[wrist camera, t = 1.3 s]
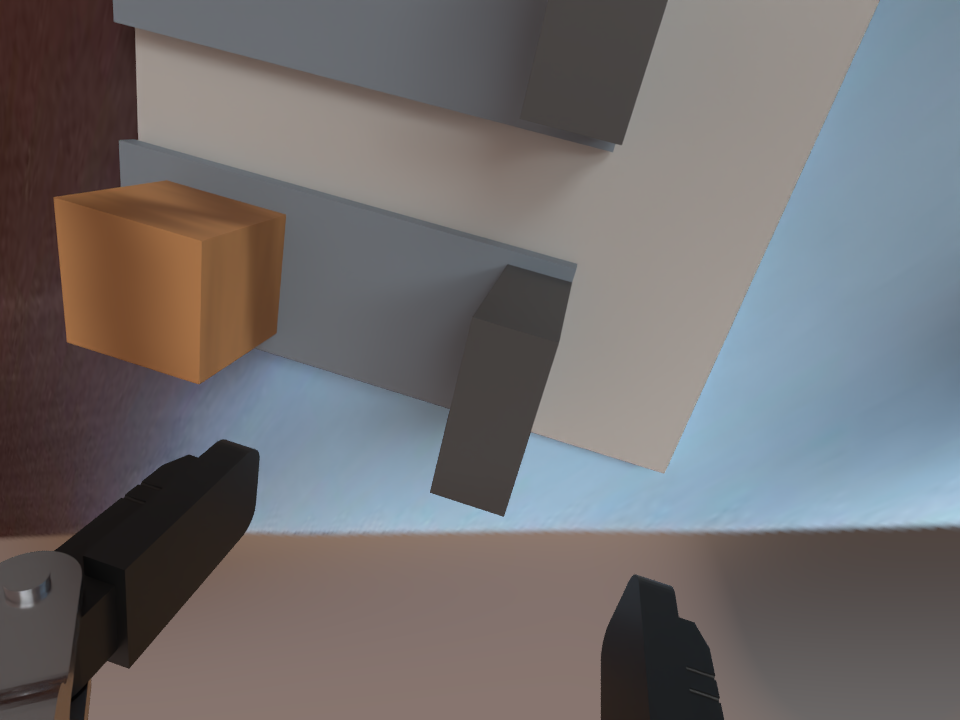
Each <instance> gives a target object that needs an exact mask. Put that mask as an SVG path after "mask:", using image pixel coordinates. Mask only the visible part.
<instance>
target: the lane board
mask: <svg viewBox="0 0 960 720" xmlns="http://www.w3.org/2000/svg"><path fill="white" fill-rule="evenodd" d="M879 1H880V0H668V2H667V5H666V8H665V11H664V15H663V18H662V21H661V24H660V27H659V30H658V33H657V37H656V40H655V43H654V46H653V49H652V52H651V55H650V59H649V62H648V65H647V68H646V71H645V74H644V77H643V81H642V84H641V87H640V90H639V93H638V96H637V99H636V103H635V106H634V109H633V112H632V115H631V118H630V121H629V125H628V128H627V131H626V134H625V137H624V140H623V144H622V145H618V144H615V147H614V150H613V152H610V151H606V150H602V149H598V148H594V147H591V146H587V145H583V144H579V143H575V142H571V141H568V140H564V139H560V138H556V137H552V136H548V135H545V134H541V133H537V132H533V131H529V130H526V129H522V128H518V127H514V126H510V125H506V124H503V123H499V122H495V121H491V120H487V119H483V118H480V117H476V116H472V115H468V114H464V113H461V112H457V111H453V110H449V109H445V108H441V107H438V106H434V105H430V104H426V103H422V102H418V101H415V100H411V99H407V98H403V97H399V96H396V95H392V94H388V93H384V92H380V91H376V90H373V89H369V88H365V87H361V86H357V85H353V84H350V83H346V82H342V81H338V80H334V79H331V78H327V77H323V76H319V75H315V74H311V73H308V72H304V71H300V70H296V69H292V68H288V67H285V66H281V65H277V64H273V63H269V62H266V61H262V60H258V59H254V58H250V57H246V56H243V55H239V54H235V53H231V52H227V51H223V50H220V49H216V48H212V47H208V46H204V45H201V44H197V43H193V42H189V41H185V40H181V39H178V38H174V37H170V36H166V35H162V34H158V33H155V32H151V31H147V30H143V29H139V28H136V27H135V44H136V79H137V114H138V140H139V141H142V142H146V143H149V144H153V145H156V146H160V147H164V148H167V149H171V150H174V151H178V152H181V153H185V154H188V155H192V156H196V157H199V158H203V159H206V160H210V161H213V162H217V163H220V164H224V165H228V166H231V167H235V168H238V169H242V170H245V171H249V172H252V173H256V174H260V175H263V176H267V177H270V178H274V179H277V180H281V181H285V182H288V183H292V184H295V185H299V186H302V187H306V188H309V189H313V190H317V191H320V192H324V193H327V194H331V195H334V196H338V197H341V198H345V199H349V200H352V201H356V202H359V203H363V204H366V205H370V206H373V207H377V208H381V209H384V210H388V211H391V212H395V213H398V214H402V215H405V216H409V217H413V218H416V219H420V220H423V221H427V222H430V223H434V224H437V225H441V226H445V227H448V228H452V229H455V230H459V231H462V232H466V233H469V234H473V235H477V236H480V237H484V238H487V239H491V240H494V241H498V242H501V243H505V244H509V245H512V246H516V247H519V248H523V249H526V250H530V251H533V252H537V253H541V254H544V255H548V256H551V257H555V258H558V259H562V260H565V261H569V262H573V263H576V264H577V268H576V272H575V275H574V278H573V281H572V286H571V290H570V295H569V299H568V304H567V309H566V313H565V318H564V323H563V327H562V332H561V336H560V341H559V345H558V348H557V351H556V354H555V357H554V361H553V364H552V367H551V370H550V373H549V376H548V379H547V383H546V386H545V389H544V392H543V395H542V398H541V401H540V405H539V408H538V411H537V414H536V417H535V420H534V423H533V427H532V430H531V432H532V433H535V434H539V435H542V436H545V437H548V438H552V439H555V440H558V441H561V442H564V443H568V444H571V445H574V446H577V447H580V448H584V449H587V450H590V451H593V452H597V453H600V454H603V455H606V456H609V457H613V458H616V459H619V460H622V461H625V462H629V463H632V464H635V465H638V466H642V467H645V468H648V469H651V470H654V471H658V472H661V473H665V471H666V469H667V466H668V464H669V462H670V460H671V458H672V455H673V453H674V451H675V449H676V447H677V444H678V442H679V440H680V438H681V436H682V433H683V431H684V429H685V427H686V425H687V422H688V420H689V418H690V416H691V414H692V412H693V409H694V407H695V405H696V403H697V401H698V398H699V396H700V394H701V392H702V390H703V387H704V385H705V383H706V381H707V379H708V376H709V374H710V372H711V370H712V368H713V365H714V363H715V361H716V359H717V357H718V354H719V352H720V350H721V348H722V346H723V343H724V341H725V339H726V337H727V335H728V332H729V330H730V328H731V326H732V324H733V321H734V319H735V317H736V315H737V313H738V311H739V308H740V306H741V304H742V302H743V300H744V297H745V295H746V293H747V291H748V289H749V286H750V284H751V282H752V280H753V278H754V275H755V273H756V271H757V269H758V267H759V264H760V262H761V260H762V258H763V256H764V253H765V251H766V249H767V247H768V245H769V242H770V240H771V238H772V236H773V234H774V231H775V229H776V227H777V225H778V223H779V220H780V218H781V216H782V214H783V212H784V210H785V207H786V205H787V203H788V201H789V199H790V196H791V194H792V192H793V190H794V188H795V185H796V183H797V181H798V179H799V177H800V174H801V172H802V170H803V168H804V166H805V163H806V161H807V159H808V157H809V155H810V152H811V150H812V148H813V146H814V144H815V141H816V139H817V137H818V135H819V133H820V130H821V128H822V126H823V124H824V122H825V119H826V117H827V115H828V113H829V111H830V108H831V106H832V104H833V102H834V100H835V98H836V95H837V93H838V91H839V89H840V87H841V84H842V82H843V80H844V78H845V76H846V73H847V71H848V69H849V67H850V65H851V62H852V60H853V58H854V56H855V54H856V51H857V49H858V47H859V45H860V43H861V40H862V38H863V36H864V34H865V32H866V29H867V27H868V25H869V23H870V21H871V18H872V16H873V14H874V12H875V10H876V7H877V5H878V3H879Z"/></svg>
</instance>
